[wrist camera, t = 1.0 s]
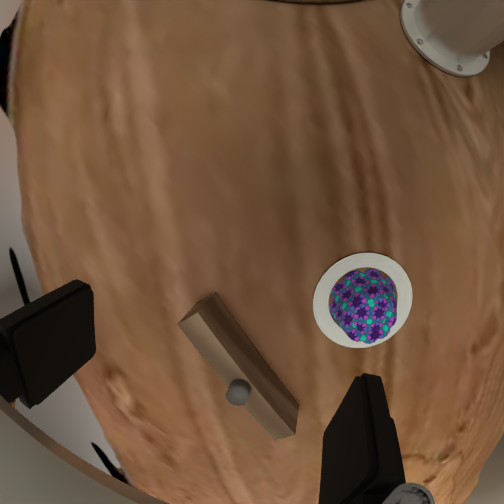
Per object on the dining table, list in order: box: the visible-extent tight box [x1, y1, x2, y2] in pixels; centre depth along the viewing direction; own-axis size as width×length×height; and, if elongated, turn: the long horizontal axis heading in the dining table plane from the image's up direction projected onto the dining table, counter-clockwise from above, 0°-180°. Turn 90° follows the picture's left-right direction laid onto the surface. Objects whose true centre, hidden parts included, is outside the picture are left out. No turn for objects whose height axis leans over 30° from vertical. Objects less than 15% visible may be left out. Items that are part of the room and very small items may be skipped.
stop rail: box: [178, 292, 299, 440], centre depth 34 cm, size 3×20×8 cm, turn 34°
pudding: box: [313, 253, 412, 348], centre depth 31 cm, size 12×12×5 cm
